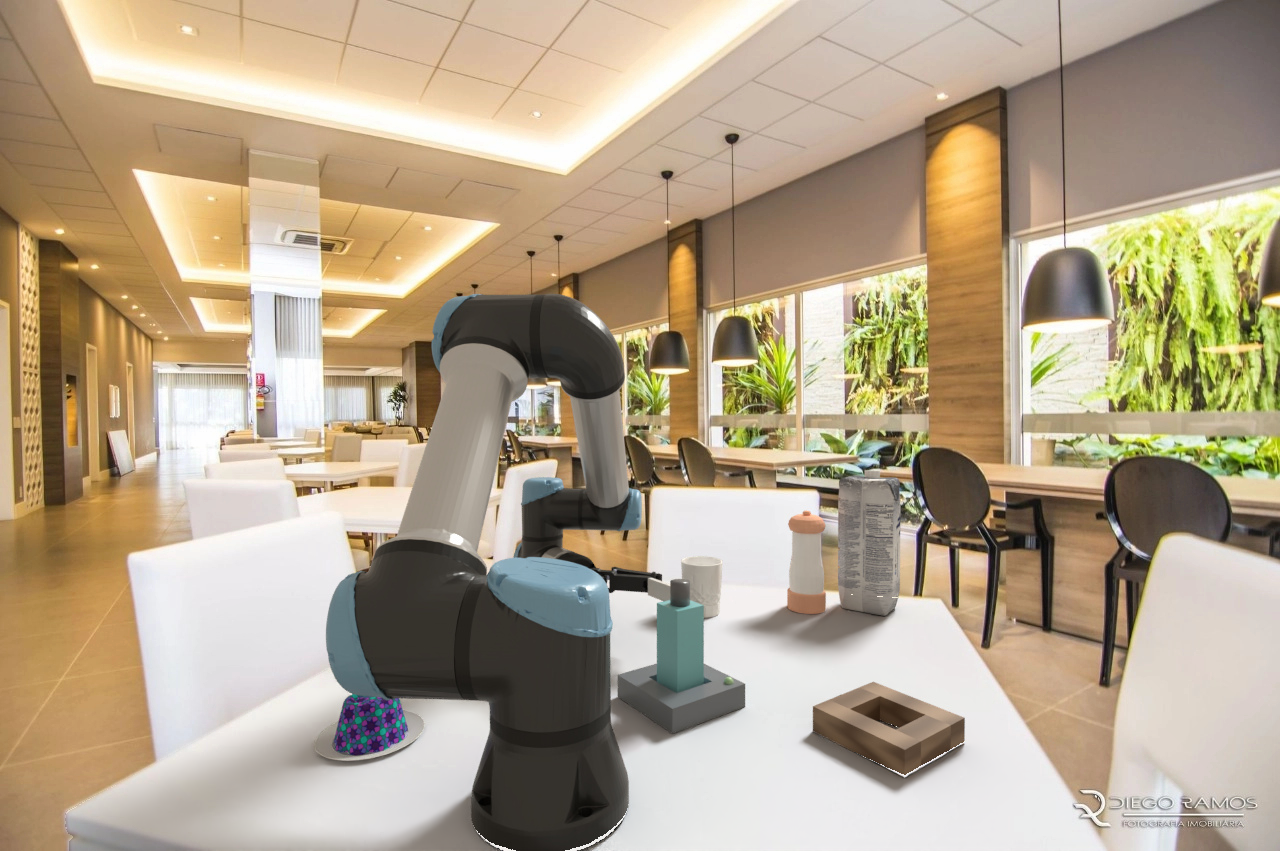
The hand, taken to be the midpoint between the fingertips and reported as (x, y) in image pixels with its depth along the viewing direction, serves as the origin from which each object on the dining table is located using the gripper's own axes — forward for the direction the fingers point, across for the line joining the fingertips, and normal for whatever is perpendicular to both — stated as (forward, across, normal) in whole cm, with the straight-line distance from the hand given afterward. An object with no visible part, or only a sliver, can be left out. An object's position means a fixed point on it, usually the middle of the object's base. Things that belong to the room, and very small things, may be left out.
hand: (638, 603), depth 91 cm
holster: (+31, -14, -11) cm, 36 cm away
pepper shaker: (-7, -45, -11) cm, 47 cm away
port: (+10, 0, -11) cm, 14 cm away
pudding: (-4, +36, -11) cm, 37 cm away
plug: (+10, 0, -11) cm, 14 cm away
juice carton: (0, -55, -11) cm, 56 cm away
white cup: (-17, -27, -11) cm, 34 cm away
